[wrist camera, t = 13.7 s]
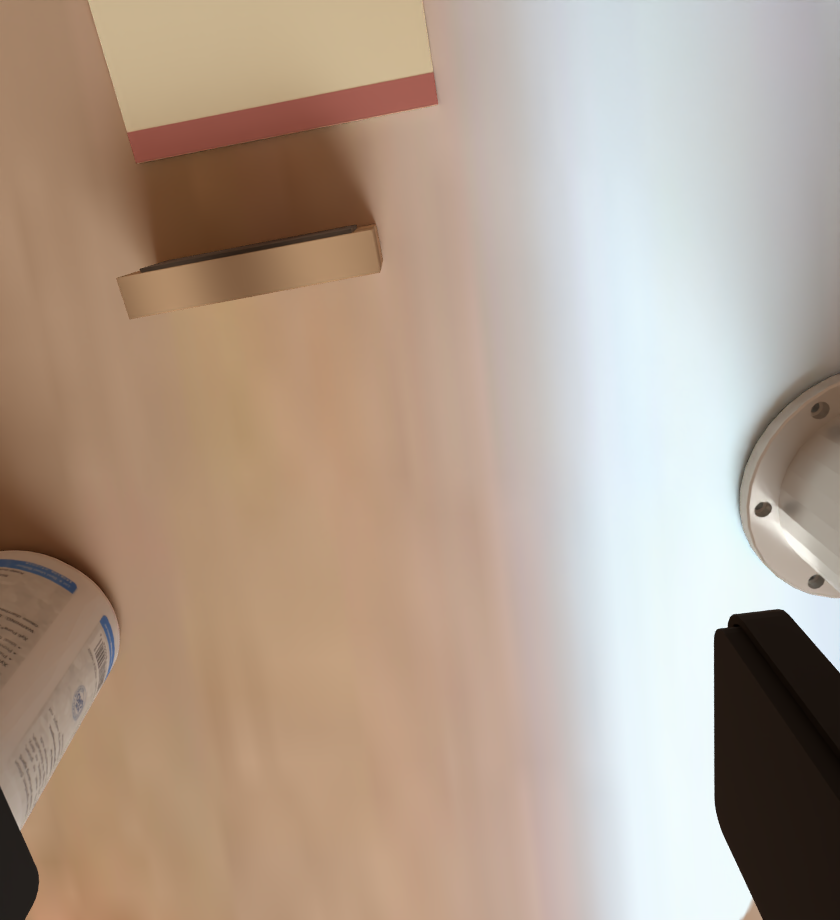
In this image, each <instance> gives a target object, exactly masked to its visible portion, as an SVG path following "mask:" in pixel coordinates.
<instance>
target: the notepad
mask: <svg viewBox="0 0 840 920" xmlns="http://www.w3.org/2000/svg"><path fill="white" fill-rule="evenodd" d="M88 2H89V6H90V9H91V12H92V16H93V19H94V23H95V26H96V29H97V33H98V36H99V39H100V43H101V46H102V49H103V53H104V56H105V60H106V63H107V66H108V70H109V73H110V76H111V80H112V83H113V86H114V90H115V93H116V97H117V100H118V103H119V107H120V110H121V113H122V117H123V120H124V123H125V127H126V130H127V134H128V137H129V141H130V144H131V148H132V151H133V154H134V158H135V161H136V163H138V164H139V163H144V162H149V161H154V160H159V159H165V158H170V157H175V156H180V155H185V154H190V153H195V152H200V151H205V150H211V149H216V148H221V147H226V146H231V145H236V144H241V143H246V142H251V141H257V140H262V139H267V138H272V137H277V136H282V135H287V134H292V133H297V132H303V131H308V130H313V129H318V128H323V127H328V126H333V125H338V124H343V123H349V122H354V121H359V120H364V119H369V118H374V117H379V116H384V115H389V114H395V113H400V112H405V111H410V110H415V109H420V108H425V107H430V106H435V105H438V100H437V93H436V87H435V80H434V74H433V67H432V61H431V54H430V48H429V41H428V35H427V28H426V22H425V15H424V8H423V2H422V0H88Z"/></svg>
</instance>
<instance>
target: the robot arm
mask: <svg viewBox="0 0 840 920" xmlns="http://www.w3.org/2000/svg"><path fill="white" fill-rule="evenodd" d="M813 406H814V407H813ZM812 407H813V408H812ZM740 515H741V521H742V526H743V530H744V533H745V535H746V537H747V540H748V542H749V544H750V546H751V548H752V549H753V551H754V552H755V553H756V555H757V556H758V557H759V559H760V560H761V561H762V563H763V564H764V565H765V566H767V567H768V568H769V569H770V570H771V571H772V572H773V573H774V574H775V575H776V576H777V577H778V578H780V579H781V580H783V581H784V582H786V583H787V584H789V585H790V586H792V587H794V588H796V589H799V590H801V591H803V592H806V593H809V594H812V595H817V596H823V597H829V598H840V373H839V374H837V375H834V376H831V377H829V378H827V379H826V380H824V381H822V382H820V383H818V384H817V385H815V386H813V387H811V388H809V389H808V390H806V391H805V392H804V393H802V394H801V395H800V396H799V397H797V398H796V399H795V400H793V401H792V402H791V403H790V404H788V405H787V406H786V407H785V408H784V409H783V410H782V411H781V412H780V413H779V415H778V416H777V417H776V418H775V419H774V420H773V421H772V422H771V423H770V424H769V425H768V427H767V428H766V430H765V431H764V433H763V434H762V436H761V437H760V439H759V440H758V442H757V443H756V445H755V447H754V449H753V451H752V454H751V456H750V458H749V460H748V462H747V465H746V467H745V471H744V475H743V479H742V484H741V488H740ZM714 785H715V808H716V813H717V817H718V821H719V824H720V828H721V830H722V833H723V835H724V837H725V840H726V842H727V844H728V846H729V848H730V850H731V852H732V854H733V857H734V859H735V861H736V863H737V865H738V867H739V869H740V872H741V874H742V876H743V878H744V880H745V882H746V884H747V887H748V889H749V891H750V893H751V895H752V897H753V899H754V901H755V904H756V906H757V908H758V910H759V912H760V914H761V916H762V918H763V920H840V673H839V672H838V670H837V669H836V668H835V667H834V666H833V665H832V664H831V662H830V661H829V660H828V659H827V658H826V657H825V656H824V654H823V653H822V652H821V651H820V650H819V649H818V648H817V646H816V645H815V644H814V643H813V642H812V641H811V640H810V638H809V637H808V636H807V635H806V634H805V633H804V631H803V630H802V629H801V628H800V627H799V626H798V625H797V623H796V622H795V621H794V620H793V619H792V618H791V617H790V615H789V614H787V613H786V612H785V611H784V610H780V609H776V610H767V611H759V612H750V613H742V614H733V615H732V616H731V617H730V619H729V621H728V628H721V629H717V630H716V632H715V635H714ZM38 885H39V875H38V871H37V868H36V865H35V863H34V861H33V859H32V856H31V854H30V852H29V850H28V847H27V845H26V843H25V841H24V838H23V836H22V834H21V832H20V829H19V827H18V825H17V823H16V820H15V818H14V816H13V814H12V811H11V809H10V807H9V805H8V802H7V800H6V798H5V796H4V793H3V791H2V789H1V787H0V920H25V918H26V916H27V915H28V913H29V911H30V909H31V907H32V906H33V903H34V901H35V899H36V895H37V892H38Z"/></svg>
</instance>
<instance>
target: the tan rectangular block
mask: <svg viewBox="0 0 840 920" xmlns="http://www.w3.org/2000/svg"><path fill="white" fill-rule="evenodd" d="M382 262H383V258H382V253H381V248H380V242H379V237H378V232H377V227H376V224H372V225H367V226H362V227H357V225H351V226H346V227H341V228H336V229H330V230H325V231H320V232H315V233H309V234H304V235H299V236H294V237H288V238H283V239H278V240H273V241H267V242H262V243H257V244H252V245H246V246H241V247H236V248H231V249H225V250H220V251H215V252H210V253H204V254H199V255H194V256H188V257H183V258H178V259H173V260H168V261H164V262H161V263H158V264H154V265H151V266H148V267H145V268H141V269H140V271H138V272H134V273H131V274H128V275H125V276H122V277H118V278H116V279H117V282H118V285H119V288H120V292H121V295H122V298H123V301H124V304H125V307H126V310H127V313H128V316H129V319H134V318H140V317H145V316H150V315H156V314H161V313H166V312H172V311H177V310H182V309H188V308H193V307H198V306H204V305H209V304H214V303H220V302H225V301H230V300H236V299H241V298H246V297H252V296H257V295H262V294H268V293H273V292H278V291H284V290H289V289H294V288H300V287H305V286H310V285H316V284H321V283H326V282H332V281H337V280H342V279H348V278H353V277H358V276H364V275H369V274H374V273H380V271H381V267H382Z"/></svg>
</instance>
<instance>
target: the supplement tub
mask: <svg viewBox="0 0 840 920" xmlns="http://www.w3.org/2000/svg"><path fill="white" fill-rule="evenodd" d="M119 644H120V632H119V625H118V621H117V617H116V614H115V612H114V609H113V607H112V605H111V603H110V602H109V600H108V598H107V597H106V596H105V594H104V593H103V592H102V590H101V589H100V588H99V587H98V586H97V585H96V584H95V583H94V582H93V581H92V580H91V579H90V578H89V577H87V576H86V575H85V574H83V573H82V572H80V571H79V570H77V569H76V568H74V567H72V566H70V565H68V564H66V563H64V562H62V561H60V560H58V559H56V558H53V557H50V556H47V555H44V554H41V553H35V552H31V551H19V550H10V551H0V787H1V789H2V791H3V793H4V796H5V798H6V800H7V802H8V805H9V807H10V809H11V811H12V814H13V816H14V818H15V820H16V823H17V825H18V827H19V829H20V831H21V829H22V827H23V825H24V824H25V822H26V820H27V818H28V816H29V815H30V813H31V811H32V810H33V808H34V806H35V804H36V802H37V801H38V799H39V797H40V795H41V793H42V792H43V790H44V788H45V786H46V785H47V783H48V781H49V779H50V778H51V776H52V774H53V772H54V770H55V769H56V767H57V765H58V763H59V761H60V760H61V758H62V756H63V754H64V753H65V751H66V749H67V747H68V745H69V744H70V742H71V740H72V738H73V736H74V735H75V733H76V731H77V729H78V728H79V726H80V724H81V722H82V721H83V719H84V717H85V715H86V714H87V712H88V710H89V708H90V706H91V705H92V703H93V701H94V699H95V697H96V696H97V694H98V692H99V690H100V689H101V687H102V685H103V683H104V681H105V680H106V678H107V676H108V674H109V672H110V671H111V669H112V667H113V665H114V663H115V661H116V658H117V655H118V651H119Z"/></svg>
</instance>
